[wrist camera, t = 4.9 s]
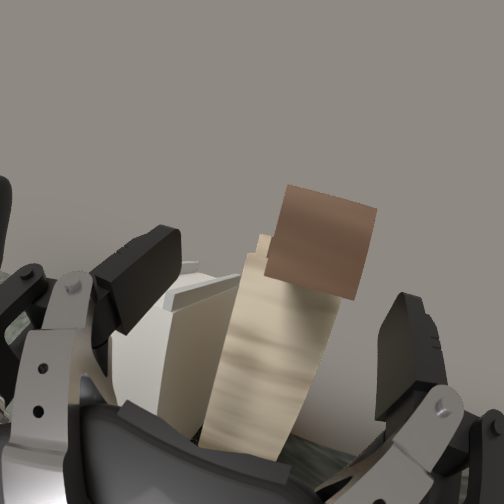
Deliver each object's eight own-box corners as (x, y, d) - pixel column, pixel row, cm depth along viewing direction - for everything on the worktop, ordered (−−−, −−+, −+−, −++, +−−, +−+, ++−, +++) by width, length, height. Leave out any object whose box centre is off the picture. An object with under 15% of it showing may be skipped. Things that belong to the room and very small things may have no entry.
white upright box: (149, 491, 21) (176, 294, 20) (99, 460, 23) (103, 265, 22) (204, 421, 41) (242, 275, 39) (165, 403, 42) (193, 260, 41)
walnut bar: (353, 300, 8) (377, 208, 8) (263, 275, 9) (287, 184, 8) (315, 263, 36) (320, 241, 35) (293, 257, 36) (299, 235, 36)
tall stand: (236, 526, 19) (353, 258, 17) (182, 507, 20) (253, 231, 19) (266, 442, 38) (331, 256, 37) (228, 430, 40) (283, 243, 38)
